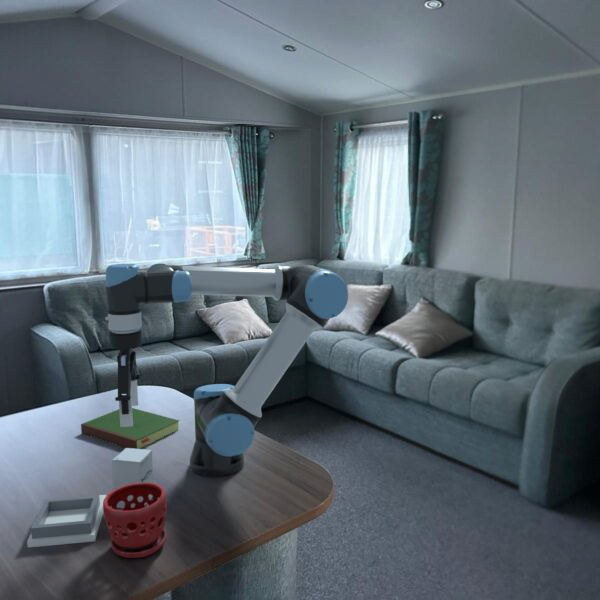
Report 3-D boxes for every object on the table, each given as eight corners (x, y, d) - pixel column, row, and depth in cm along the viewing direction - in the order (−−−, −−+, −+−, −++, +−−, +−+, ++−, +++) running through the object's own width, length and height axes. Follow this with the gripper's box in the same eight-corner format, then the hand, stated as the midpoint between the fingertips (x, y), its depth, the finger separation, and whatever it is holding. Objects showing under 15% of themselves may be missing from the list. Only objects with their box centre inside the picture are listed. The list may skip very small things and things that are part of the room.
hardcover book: (81, 435, 190) (80, 424, 189) (126, 416, 206) (126, 406, 205) (137, 453, 177) (137, 441, 177) (181, 431, 193) (180, 420, 192)
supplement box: (141, 511, 144) (139, 462, 142) (113, 508, 146) (110, 459, 144) (155, 496, 152) (152, 449, 149) (128, 493, 153) (125, 446, 151)
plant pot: (159, 523, 139) (156, 475, 137) (175, 553, 128) (173, 501, 126) (100, 538, 133) (97, 488, 131) (112, 571, 122) (109, 517, 119)
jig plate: (106, 500, 149) (105, 485, 149) (95, 541, 132) (93, 524, 131) (47, 505, 147) (46, 490, 146) (27, 547, 130) (26, 530, 129)
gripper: (115, 319, 152) (120, 398, 156) (100, 343, 128) (106, 437, 132) (145, 318, 153) (149, 397, 157) (136, 342, 129) (141, 434, 133)
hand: (129, 415), depth 145 cm, fingers open, 13 cm apart
